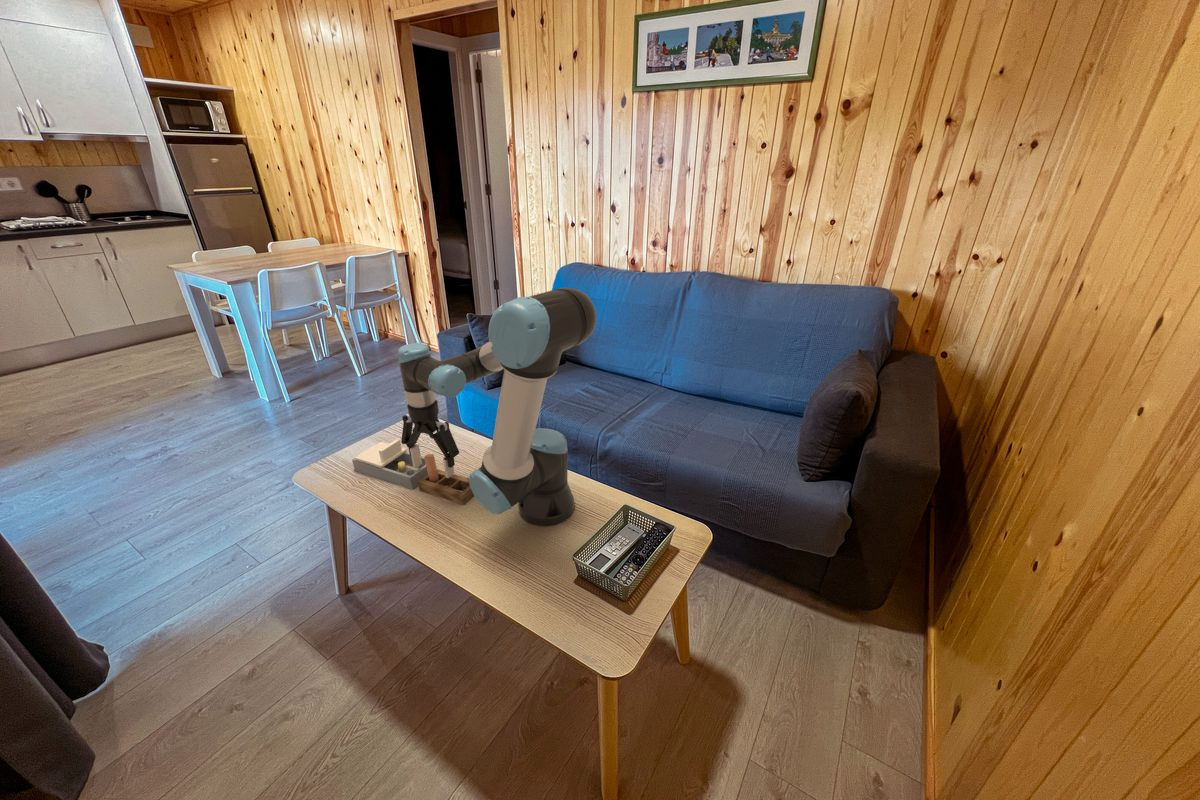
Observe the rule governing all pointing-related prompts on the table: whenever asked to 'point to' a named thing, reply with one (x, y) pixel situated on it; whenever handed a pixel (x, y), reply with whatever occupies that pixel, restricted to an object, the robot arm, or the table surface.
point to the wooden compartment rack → (447, 492)
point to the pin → (431, 468)
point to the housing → (401, 476)
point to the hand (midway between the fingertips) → (433, 470)
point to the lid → (381, 453)
